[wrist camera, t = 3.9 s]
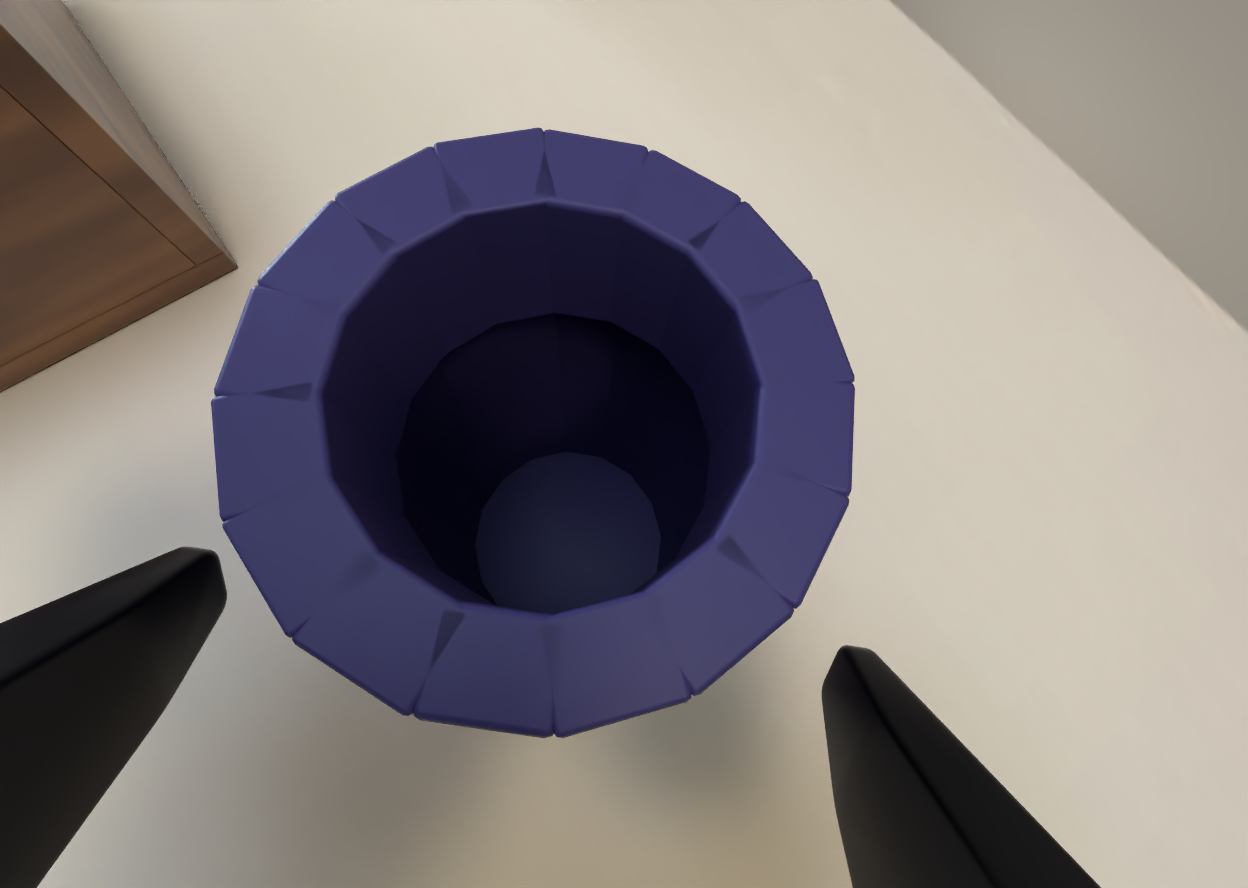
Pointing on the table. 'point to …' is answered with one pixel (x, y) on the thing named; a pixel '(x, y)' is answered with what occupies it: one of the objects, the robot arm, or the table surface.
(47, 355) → the bread box
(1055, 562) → the table surface
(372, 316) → the purple hollow cylinder
